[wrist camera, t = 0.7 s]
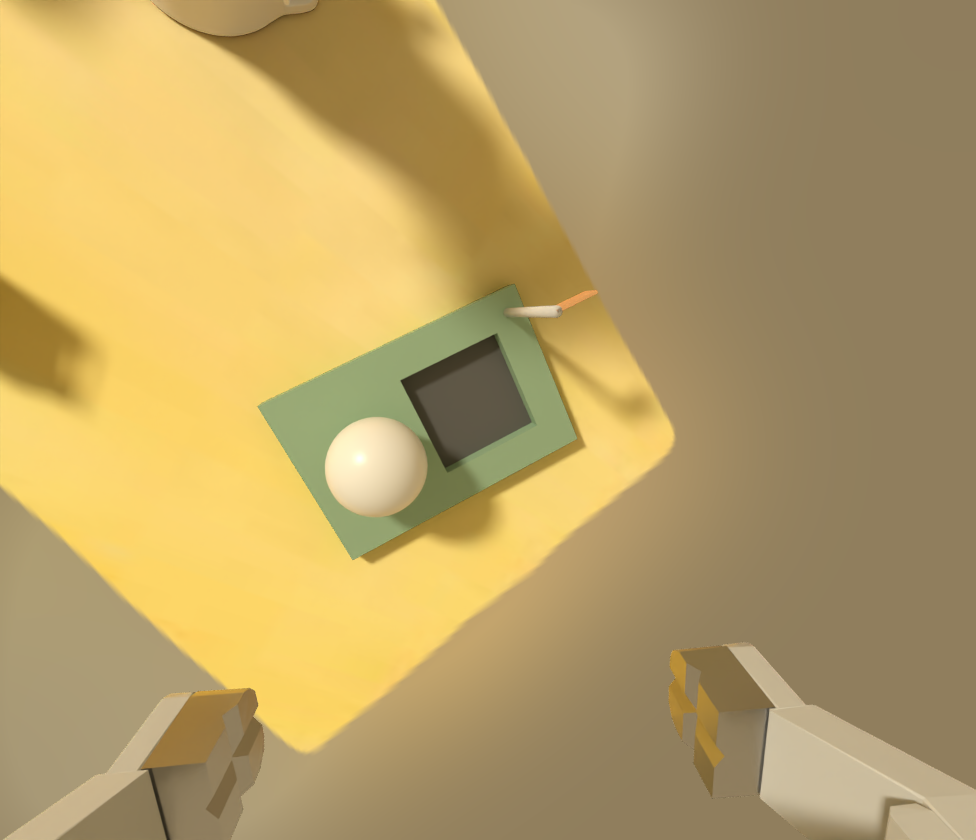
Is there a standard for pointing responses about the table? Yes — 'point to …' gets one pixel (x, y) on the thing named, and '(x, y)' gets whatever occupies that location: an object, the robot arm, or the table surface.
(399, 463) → the ball
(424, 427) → the putting mat
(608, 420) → the table surface
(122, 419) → the table surface
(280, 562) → the table surface
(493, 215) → the table surface
